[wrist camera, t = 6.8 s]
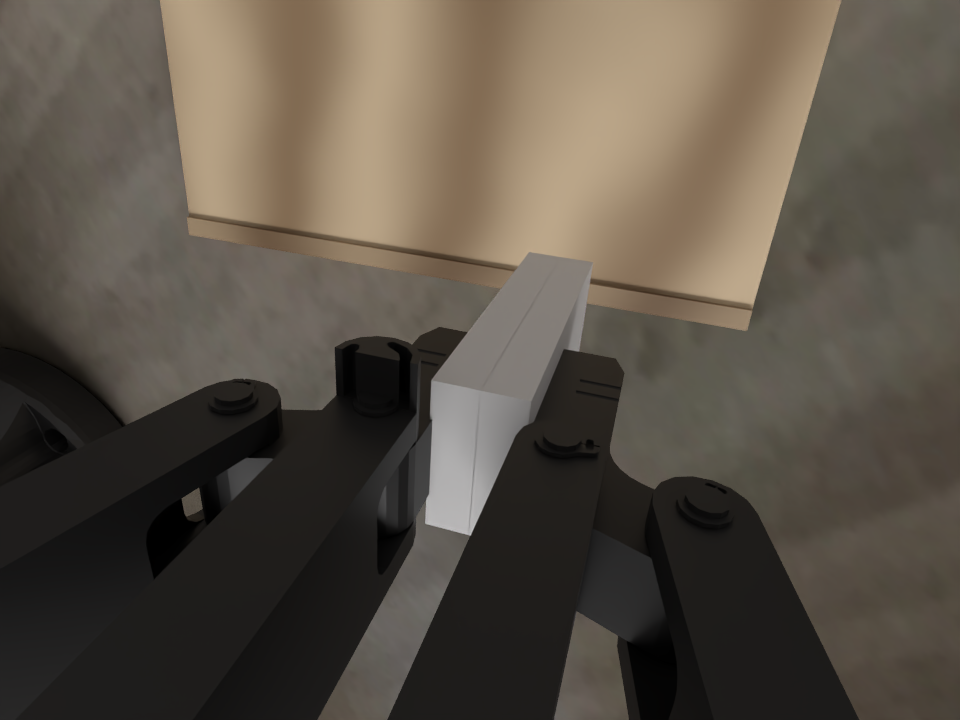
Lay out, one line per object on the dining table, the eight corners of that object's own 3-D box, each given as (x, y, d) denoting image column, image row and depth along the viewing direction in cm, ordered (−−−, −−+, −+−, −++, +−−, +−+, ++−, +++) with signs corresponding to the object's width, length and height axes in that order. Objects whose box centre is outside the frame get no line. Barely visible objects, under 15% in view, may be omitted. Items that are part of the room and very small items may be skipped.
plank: (215, 225, 27) (189, 236, 25) (184, -42, 23) (149, -47, 21) (742, 313, 22) (746, 332, 21) (830, 1, 18) (843, -3, 17)
